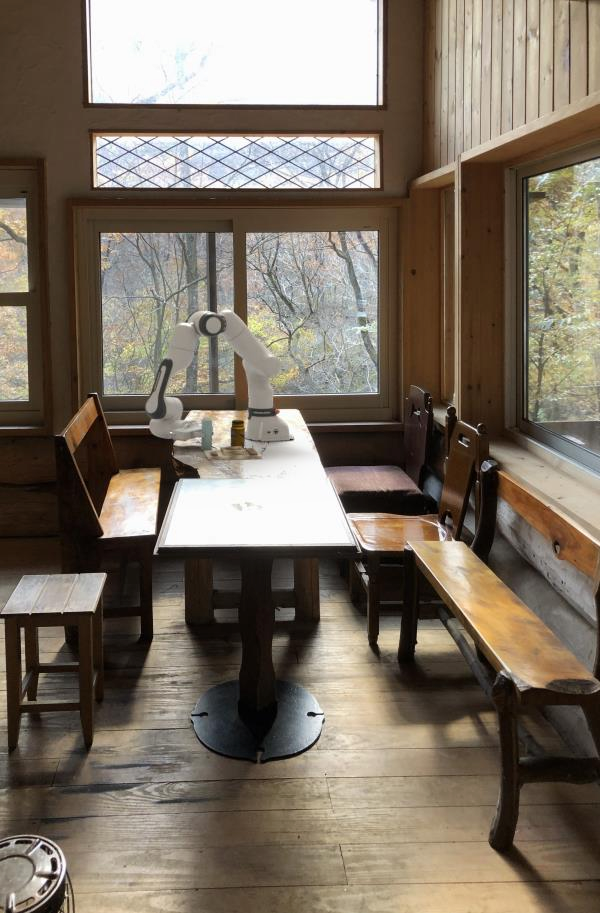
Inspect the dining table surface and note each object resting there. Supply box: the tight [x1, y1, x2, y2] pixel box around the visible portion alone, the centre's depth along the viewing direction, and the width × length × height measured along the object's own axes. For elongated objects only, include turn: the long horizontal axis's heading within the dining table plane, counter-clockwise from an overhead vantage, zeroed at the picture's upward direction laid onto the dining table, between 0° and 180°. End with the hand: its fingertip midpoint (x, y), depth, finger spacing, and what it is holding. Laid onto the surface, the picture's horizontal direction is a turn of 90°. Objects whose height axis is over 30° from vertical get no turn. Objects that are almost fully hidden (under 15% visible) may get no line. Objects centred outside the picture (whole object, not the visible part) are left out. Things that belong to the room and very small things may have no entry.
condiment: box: [227, 419, 246, 450], centre depth 392 cm, size 7×8×12 cm
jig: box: [203, 446, 263, 460], centre depth 376 cm, size 22×13×3 cm, turn 104°
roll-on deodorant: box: [200, 415, 213, 452], centre depth 384 cm, size 4×4×15 cm
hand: (208, 434), depth 384 cm, fingers closed on roll-on deodorant, 4 cm apart
